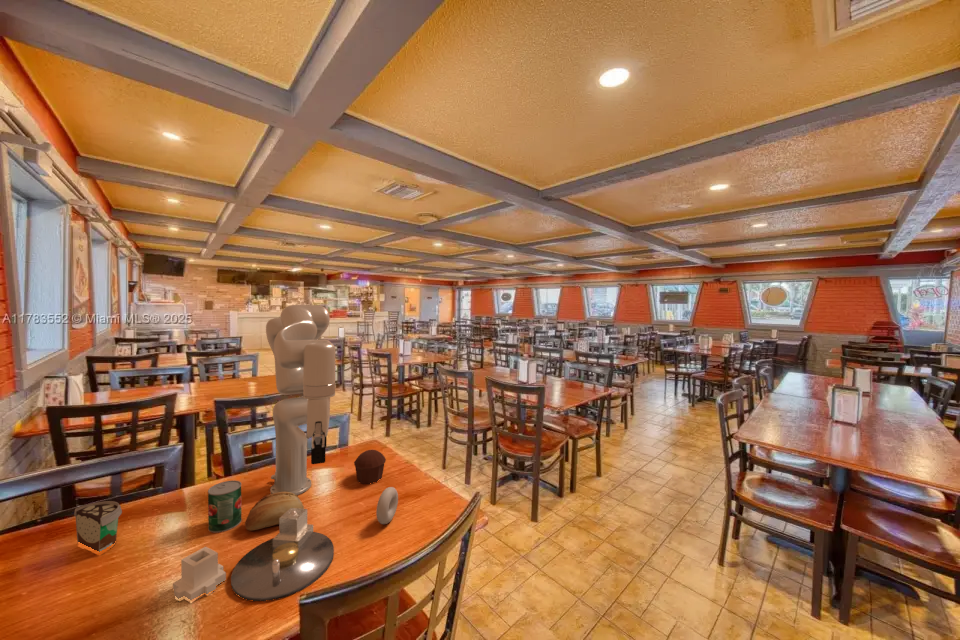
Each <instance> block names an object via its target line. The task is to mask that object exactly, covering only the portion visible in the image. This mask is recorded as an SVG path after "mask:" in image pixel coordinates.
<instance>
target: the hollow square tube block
mask: <svg viewBox="0 0 960 640" xmlns="http://www.w3.org/2000/svg"><path fill="white" fill-rule="evenodd" d="M218 558H219V553H218V552H217V551H215V550H214V549H212V548H209V547H207V546H204V547H202V548H200V549H198V550H197V551H195V552H193V553H190V554H188V555H187V556H185V557H183V558H181V562H180V563H181V565H180V566H181V568H180V569H181V572H180V573H181V577H180V578H179V579H178V580H176V581H174V582H173V583H172V590H173V589H174V592H173V595H174V596H176V597H177V598H178V599H179V598H181V597H183V596H185V597H187V598H188V599H190V600H192V599H194V598H196V597H198V596H200V595H201V594H203V593H206V594H208V593H209V592H211V591H213V590H215V589H216V590H217V587H216V585H218V584H220V583H221V582H223V581H225V580H226V581H227V572H226V571H224V565H222V564H220V563H219V559H218ZM226 581H225V582H226ZM223 583H224V582H223ZM220 585H221V584H220ZM174 596H173V597H174Z"/></svg>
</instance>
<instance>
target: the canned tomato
mask: <svg viewBox="0 0 960 640" xmlns="http://www.w3.org/2000/svg"><path fill="white" fill-rule="evenodd" d="M207 504H208V505H207V511H208V513H207V515H208V517H207V518H208V519H207V523H208V531H209V532H210V533H213V534H214V533H217V534H219V533H224V532H227V531H230V530H232V529H234V528H236V527H237V526H239V525H240V524H241V522H242V520H243V519H242V514H243V513H242V482H241V481H239V480H227V481H222V482H218V483H216V484H214V485H213V486H210V487H209V489H208V491H207Z"/></svg>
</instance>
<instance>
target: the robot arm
mask: <svg viewBox="0 0 960 640" xmlns="http://www.w3.org/2000/svg"><path fill="white" fill-rule="evenodd" d="M330 319H331V317H330V313H329V310H328V309H327V308H326V307H324V306H323V305H319V304H291V305H288V306H285V307H284V308H283V309H282V311H281V313H280V317H274V318H271V319H270V320H268V321H267V322H266V325H265V334H266V339H267V342H268V345H269V346H270V349H271V351H272V353H273V357H274V372H275V374H274V375H275V384H276V385H275V386H276V390H277V392H278V393H279V394H280V395H284V396H285V395H288V396H289V395H297V394H303V396H298V397H297V396H296V397H291V398H290V397H289V398H284V399H282V400H279V401H277V402H276V403H275V404H274V405H273V407H272V418H273V419H272V420H273V424H274V431H275V432H274V433H275V471H274V474H272V475H271V476H270V478H271V480H274V484H272V486H271V487H270V488H269V489H270V494H273V493H277V492H291V493H293V494H295V495H297V496H298V495H301V494H303V493H305V492H306V491H308V490H309V489H310V488H311V486H312V480H311V478H309V477H307V476H308V474H307V469H308V468H307V467H308V466H307V462H308V460H307V459H308V458H307V457H308V455H307V454H308V450H307V447H308V445H307V444H308V439H309V440H310V438H312V440H311V447H310V464H311V465H318V464H324V463H326V449H327V436H328V433H329V426H330V417H331V413H330V412H331V398H332V397H334V396H336V346H335V345H334V343H332V342H331V341H330V340H328V339H324V338H323V339H321V337H322V336H323V334H324V333H325V332H326V330H327V329H328V328H329V326H330ZM302 425H306V433H305V432H304V430H302V429H301V428H300V427H299V426H302Z"/></svg>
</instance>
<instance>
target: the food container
mask: <svg viewBox="0 0 960 640" xmlns="http://www.w3.org/2000/svg"><path fill="white" fill-rule="evenodd" d="M122 514H123V510H122V507H121V505H120V503H119V502H117V501H114V500H113V501H112V500H109V501H108V500H107V501H106V500H104V501H99V502H98V501H97V502H93V503H89V504H85V505H82V506H78V507H75V509H74V513H73V516H74V517H75V529H76V537H77V538H76V540H77V543H78V542H80V543H82V544H84V545H86V546H88V547H91V548H92V549H94V550H97V551H99V552H100V551H102V550H104V549H106V548H107V547H109V546H111V545H112V544H114V543H115V541H116V542H117V533H118V525H119V524H118V523H119V517H120V516H121V515H122ZM115 544H116V543H115Z"/></svg>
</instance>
